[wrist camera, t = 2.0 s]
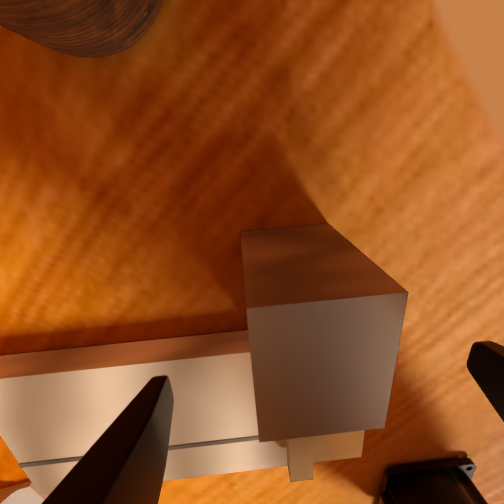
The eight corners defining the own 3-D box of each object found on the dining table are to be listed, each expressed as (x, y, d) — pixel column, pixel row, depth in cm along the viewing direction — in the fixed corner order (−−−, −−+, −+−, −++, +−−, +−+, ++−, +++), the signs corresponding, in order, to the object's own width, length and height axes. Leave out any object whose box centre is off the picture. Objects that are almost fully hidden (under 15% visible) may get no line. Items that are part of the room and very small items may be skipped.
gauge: (328, 223, 12) (408, 291, 7) (320, 418, 17) (362, 551, 12) (240, 231, 12) (245, 308, 6) (258, 425, 17) (271, 562, 11)
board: (362, 318, 14) (377, 339, 13) (350, 430, 18) (361, 457, 16) (-6, 356, 14) (-36, 383, 12) (57, 465, 17) (40, 496, 15)
